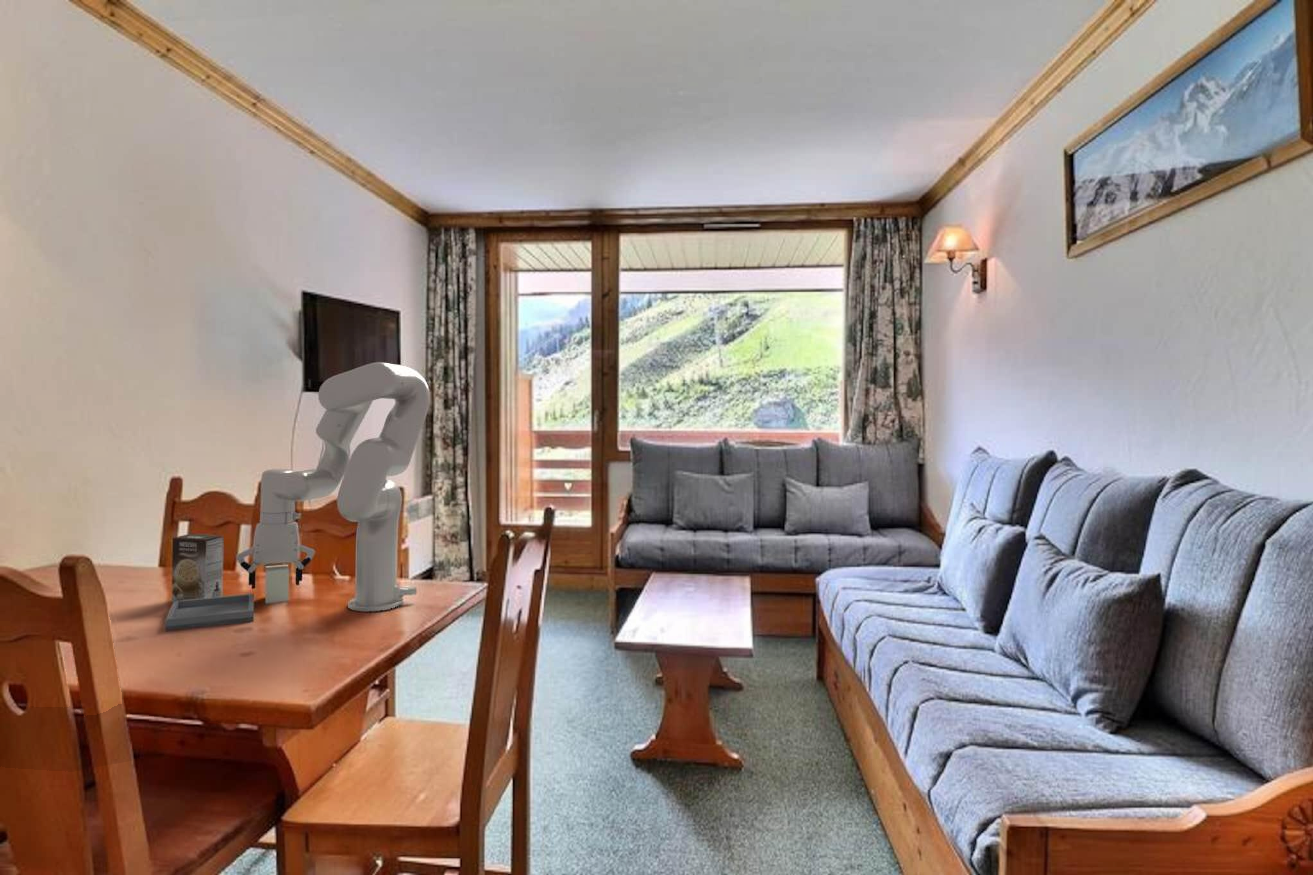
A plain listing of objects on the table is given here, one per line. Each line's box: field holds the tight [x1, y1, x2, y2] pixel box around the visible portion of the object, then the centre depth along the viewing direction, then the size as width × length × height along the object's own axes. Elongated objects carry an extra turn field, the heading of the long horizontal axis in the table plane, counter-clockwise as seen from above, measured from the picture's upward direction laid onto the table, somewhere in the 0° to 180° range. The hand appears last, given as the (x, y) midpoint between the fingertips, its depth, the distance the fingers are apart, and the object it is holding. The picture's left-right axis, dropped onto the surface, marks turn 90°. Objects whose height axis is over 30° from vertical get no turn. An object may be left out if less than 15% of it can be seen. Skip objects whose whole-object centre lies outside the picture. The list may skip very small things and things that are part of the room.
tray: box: [165, 592, 255, 632], centre depth 152 cm, size 16×16×2 cm
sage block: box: [264, 564, 290, 604], centre depth 167 cm, size 5×6×8 cm
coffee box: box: [171, 532, 224, 603], centre depth 164 cm, size 9×6×16 cm
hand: (275, 585), depth 167 cm, fingers open, 9 cm apart
